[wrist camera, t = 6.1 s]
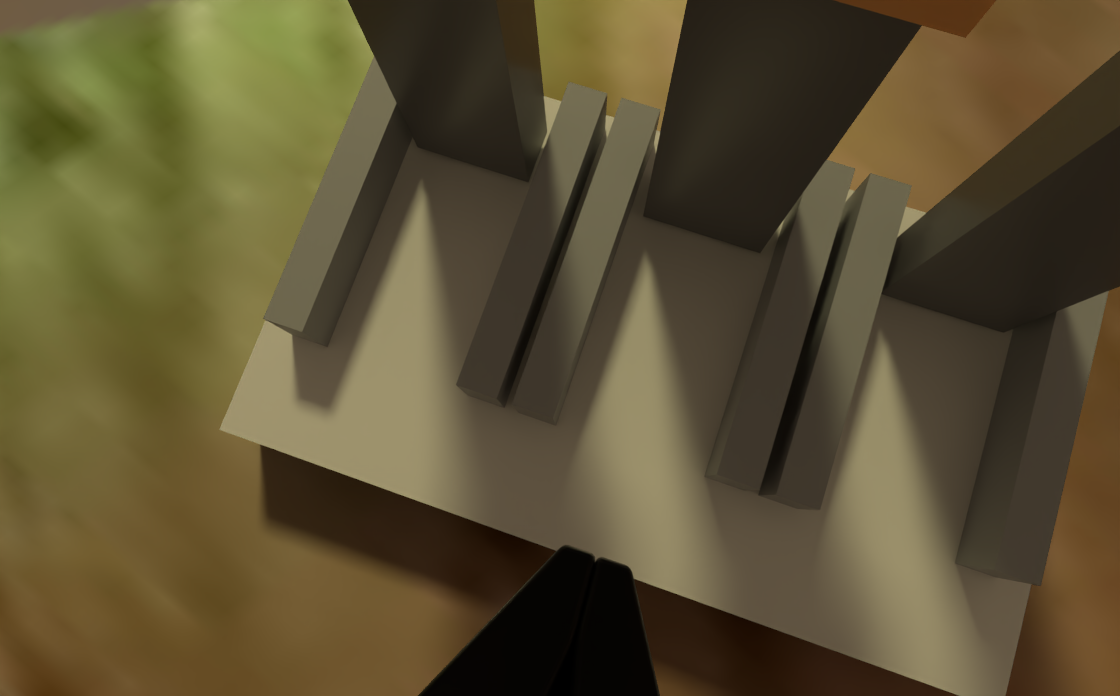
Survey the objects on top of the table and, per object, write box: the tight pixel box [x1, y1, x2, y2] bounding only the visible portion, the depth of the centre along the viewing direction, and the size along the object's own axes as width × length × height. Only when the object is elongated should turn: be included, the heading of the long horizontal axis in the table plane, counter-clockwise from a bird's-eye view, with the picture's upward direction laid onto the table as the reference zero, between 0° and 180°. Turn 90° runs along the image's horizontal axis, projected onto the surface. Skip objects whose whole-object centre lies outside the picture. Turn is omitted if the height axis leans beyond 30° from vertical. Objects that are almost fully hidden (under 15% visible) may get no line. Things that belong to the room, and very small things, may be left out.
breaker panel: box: [219, 57, 1108, 696], centre depth 16 cm, size 9×16×4 cm, turn 71°
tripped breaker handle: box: [643, 0, 996, 253], centre depth 12 cm, size 2×3×10 cm, turn 71°
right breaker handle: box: [881, 51, 1120, 333], centre depth 11 cm, size 2×3×10 cm, turn 71°
